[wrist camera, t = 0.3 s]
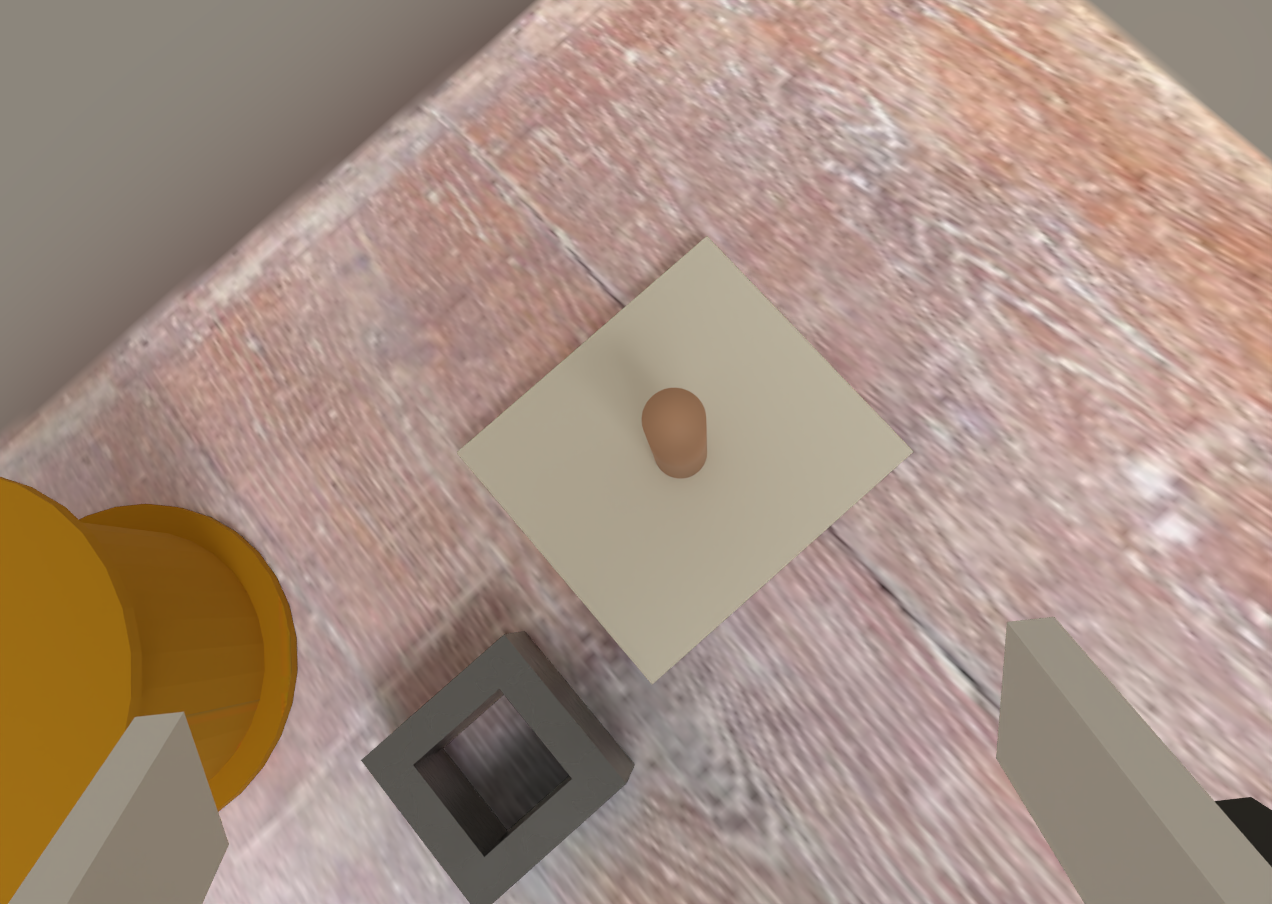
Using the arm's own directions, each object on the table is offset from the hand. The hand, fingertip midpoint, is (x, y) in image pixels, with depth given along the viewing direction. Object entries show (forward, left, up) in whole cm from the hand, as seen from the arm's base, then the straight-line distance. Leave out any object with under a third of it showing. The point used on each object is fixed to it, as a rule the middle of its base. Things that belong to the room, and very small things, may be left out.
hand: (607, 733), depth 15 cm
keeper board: (+7, -7, -34) cm, 36 cm away
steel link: (+1, +10, -34) cm, 36 cm away
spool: (+18, +23, -35) cm, 46 cm away
